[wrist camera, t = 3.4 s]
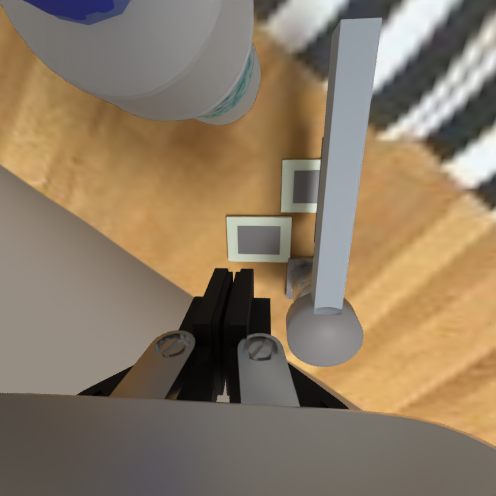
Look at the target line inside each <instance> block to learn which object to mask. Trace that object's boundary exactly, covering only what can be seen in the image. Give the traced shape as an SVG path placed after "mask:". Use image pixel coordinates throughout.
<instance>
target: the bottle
mask: <svg viewBox="0 0 496 496" xmlns="http://www.w3.org/2000/svg"><path fill="white" fill-rule="evenodd" d="M0 3H1V5H2V7H3V9H4V10H5V12H6V14H7V16H8V17H9V19H10V21H11V23H12V25H13V26H14V28H15V29H16V31H17V32H18V33H19V35H20V36H21V37H22V39H23V40H24V41H25V42H26V44H27V45H28V46H29V48H30V49H31V50H32V51H33V52H34V53H35V54H36V56H37V57H38V58H39V59H40V60H41V61H42V62H43V63H44V64H45V65H46V66H48V67H49V68H50V69H51V70H52V71H53V72H55V73H56V74H57V75H59V76H60V77H62V78H63V79H64V80H66V81H67V82H69V83H71V84H72V85H74V86H75V87H77V88H79V89H81V90H83V91H85V92H87V93H89V94H92V95H94V96H96V97H98V98H100V99H103V100H105V101H107V102H109V103H111V104H114V105H116V106H117V107H119V108H120V109H122V110H124V111H126V112H128V113H130V114H132V115H134V116H138V117H141V118H145V119H149V120H157V121H172V120H173V121H179V120H187V119H191V118H194V119H196V120H199V121H201V122H204V123H207V124H211V125H226V124H229V123H232V122H234V121H236V120H238V119H239V118H241V117H242V116H243V115H245V114H246V113H247V112H248V111H249V110H250V109H251V107H252V106H253V104H254V102H255V99H256V97H257V94H258V91H259V86H260V76H261V70H260V64H259V59H258V55H257V52H256V49H255V47H254V44H253V42H252V38H253V26H254V16H253V0H0Z"/></svg>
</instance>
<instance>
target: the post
mask: <svg viewBox="0 0 496 496" xmlns="http://www.w3.org/2000/svg"><path fill="white" fill-rule="evenodd" d="M312 269H313V257H290V258H288V263H287V283H286V298H287V299H294V302H295V301H296V300H297V299H298V298H300V297H302V296H304V295H306V294H308V293H311V281H312Z"/></svg>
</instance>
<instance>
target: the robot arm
mask: <svg viewBox="0 0 496 496" xmlns="http://www.w3.org/2000/svg"><path fill="white" fill-rule="evenodd" d="M225 381H226V387H227V395H228V396H230V397H229V399H230V403H224V402H216V400H217V396H218V395H223V392H224V386H225ZM0 496H496V446H494V445H492V444H490V443H488V442H486V441H484V440H482V439H480V438H478V437H476V436H473V435H471V434H469V433H466V432H463V431H460V430H458V429H455V428H452V427H450V426H447V425H444V424H441V423H437V422H433V421H429V420H425V419H421V418H417V417H411V416H405V415H399V414H392V413H381V412H370V411H360V410H350V409H348V407H347V406H345V405H344V404H343V403H342V402H341V401H339V400H338V399H337V398H335V397H334V396H333V395H331V394H330V393H329V392H327V391H326V390H324V389H323V388H322V387H320V386H319V385H318V384H316V383H315V382H314V381H312V380H311V379H309V378H308V377H307V376H305V375H304V374H303V373H301V372H300V371H299V370H297V369H296V368H295V367H293V366H292V365H290V364H289V363H287V360H286V356H285V353H284V349H283V346H282V344H281V342H280V341H279V340H278V339H277V338H275V337H274V336H272V335H271V314H270V298H254V271H253V269H241V271H240V272H236V274H235V278H234V282H233V272H228V268H215V270H214V272H213V275H212V277H211V279H210V282H209V284H208V287H207V289H206V292H205V294H204V296H203V297H198V296H196V297H194V299H193V301H192V303H191V305H190V307H189V309H188V311H187V313H186V316H185V318H184V320H183V322H182V324H181V326H180V328H179V330H178V331H177V330H176V331H170V332H167V333H164V334H162V335H161V336H159V337H157V338H156V339H155V340H154V341H153V342H152V343H151V344H150V346H149V347H148V348H147V350H146V351H145V352H144V353H143V355H142V356H141V357H140V358H139V359H138V361H137V362H136V363H135V364H134V365H133V366H131V367H129V368H127V369H126V370H123V371H121V372H119V373H117V374H116V375H113V376H111V377H109V378H108V379H105V380H103V381H101V382H99V383H97V384H96V385H94V386H91V387H90V388H88V389H86V390H84V391H82V392H80V393H79V394H77V395H58V394H35V393H0Z"/></svg>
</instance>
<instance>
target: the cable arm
mask: <svg viewBox="0 0 496 496" xmlns="http://www.w3.org/2000/svg"><path fill="white" fill-rule="evenodd" d="M381 23H382V18H367V19H346V20H341V21H340V22H339V24H338V26H337V27H336V29H335V31H334V33H333V34H332V43H331V55H330V67H329V79H328V91H327V103H326V115H325V127H324V137H322V149H321V161H320V173H319V186H318V198H317V210H316V222H315V234H314V243H315V246H314V257H313V269H312V281H311V293H308V294H306V295H304V296H302V297H300V298H298V299H297V300H296V301H295V302H294V303H293V304H292V305H291V306H290V308H289V310H288V312H287V315H286V329H287V341H288V345H289V348H290V350H291V352H292V353H293V354H294V355H295V356H296V357H297V358H298V359H299V360H301V361H303V362H305V363H307V364H310V365H313V366H319V367H329V366H335V365H339V364H341V363H344V362H346V361H348V360H349V359H351V358H352V357H353V356H354V355H355V354H356V353H357V352H358V351H359V349H360V347H361V345H362V342H363V330H362V327H361V325H360V322H359V320H358V318H357V316H356V314H355V312H354V309H353V307H352V306H351V304H350V303H349V302H348V301H347V300H346V299H345V298H344V291H345V284H346V277H347V269H348V262H349V255H350V248H351V240H352V233H353V226H354V219H355V212H356V204H357V197H358V190H359V183H360V175H361V168H362V161H363V154H364V146H365V139H366V132H367V125H368V117H369V110H370V103H371V96H372V88H373V81H374V74H375V67H376V59H377V52H378V45H379V38H380V30H381Z"/></svg>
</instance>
